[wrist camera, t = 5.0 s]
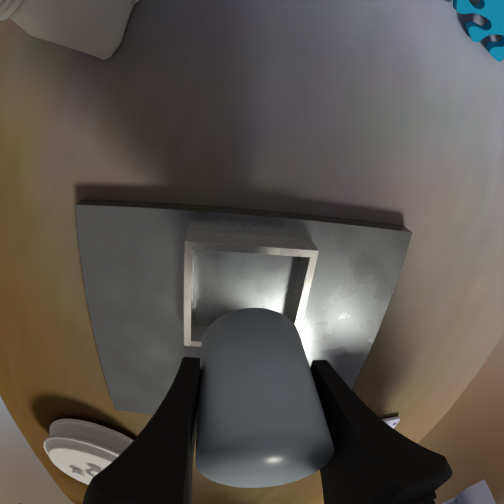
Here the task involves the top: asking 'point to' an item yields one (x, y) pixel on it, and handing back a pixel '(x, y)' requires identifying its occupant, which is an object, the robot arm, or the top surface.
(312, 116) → the top surface
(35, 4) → the tall pale column
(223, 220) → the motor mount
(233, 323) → the grey rounded capsule
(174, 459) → the robot arm
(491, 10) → the teal bumpy piece
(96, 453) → the lid
